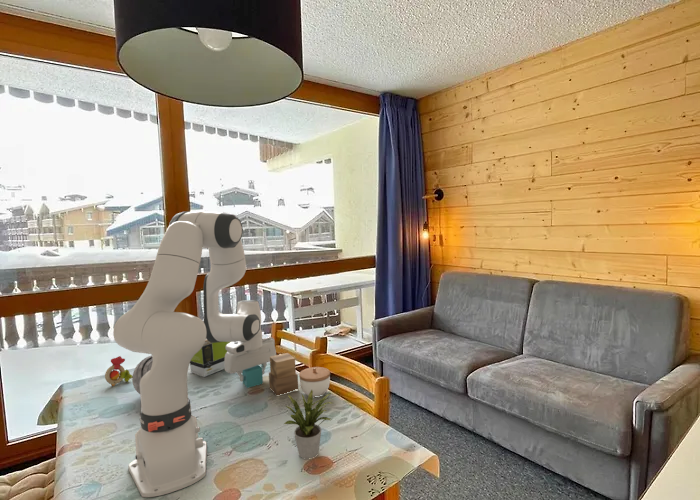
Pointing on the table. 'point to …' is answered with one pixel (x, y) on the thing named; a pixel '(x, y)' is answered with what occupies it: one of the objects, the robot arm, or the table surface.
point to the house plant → (307, 425)
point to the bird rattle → (117, 372)
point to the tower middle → (282, 365)
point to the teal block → (253, 376)
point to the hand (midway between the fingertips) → (252, 377)
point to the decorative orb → (141, 372)
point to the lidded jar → (315, 380)
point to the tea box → (209, 358)
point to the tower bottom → (283, 384)
